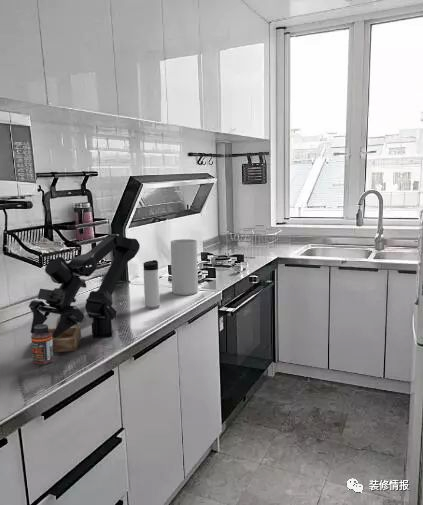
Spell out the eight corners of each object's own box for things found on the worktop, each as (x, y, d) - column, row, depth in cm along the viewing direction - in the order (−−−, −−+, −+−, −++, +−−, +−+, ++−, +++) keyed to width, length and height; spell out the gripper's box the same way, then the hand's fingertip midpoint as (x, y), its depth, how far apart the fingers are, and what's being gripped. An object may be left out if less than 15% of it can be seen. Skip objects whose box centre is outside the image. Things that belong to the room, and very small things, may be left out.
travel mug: (163, 306, 199) (161, 260, 196) (153, 310, 194) (151, 263, 191) (151, 304, 203) (149, 259, 199) (142, 308, 197) (140, 262, 194)
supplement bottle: (29, 365, 138) (26, 328, 136) (39, 357, 144) (36, 322, 142) (47, 366, 137) (44, 329, 135) (57, 358, 143) (54, 323, 141)
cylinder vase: (175, 289, 230) (173, 239, 226) (200, 289, 228) (199, 239, 224) (169, 295, 218) (167, 242, 214) (195, 295, 216) (194, 243, 212)
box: (81, 337, 162) (80, 326, 161) (75, 350, 149) (74, 338, 149) (42, 339, 160) (41, 328, 159) (33, 353, 147) (32, 341, 147)
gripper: (31, 275, 146) (4, 318, 138) (75, 280, 137) (49, 326, 130) (51, 294, 154) (27, 335, 146) (94, 300, 146) (71, 344, 138)
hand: (42, 335), depth 140 cm, fingers open, 9 cm apart
